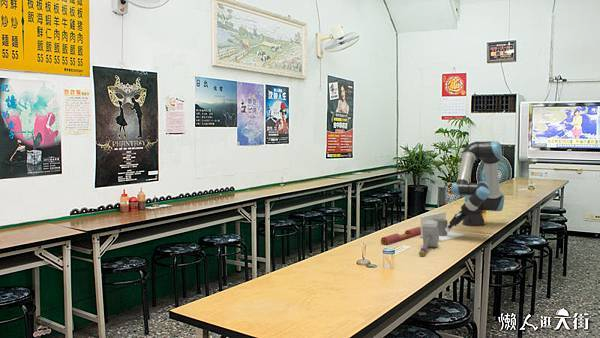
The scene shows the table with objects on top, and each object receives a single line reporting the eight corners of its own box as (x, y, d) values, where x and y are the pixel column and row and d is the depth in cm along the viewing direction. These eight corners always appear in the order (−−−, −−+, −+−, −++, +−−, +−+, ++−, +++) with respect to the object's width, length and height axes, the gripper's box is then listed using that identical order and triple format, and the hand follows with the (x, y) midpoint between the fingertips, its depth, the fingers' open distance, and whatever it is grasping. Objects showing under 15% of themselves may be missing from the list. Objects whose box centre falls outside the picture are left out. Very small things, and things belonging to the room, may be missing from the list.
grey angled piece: (427, 242, 282) (438, 219, 308) (413, 241, 285) (424, 219, 311) (429, 267, 287) (439, 242, 312) (415, 265, 290) (426, 241, 316)
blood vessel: (416, 233, 350) (415, 226, 349) (422, 234, 346) (422, 227, 346) (380, 244, 319) (380, 236, 319) (387, 245, 316) (387, 237, 315)
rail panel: (443, 232, 351) (443, 211, 350) (465, 235, 339) (465, 214, 338) (420, 238, 334) (420, 216, 333) (442, 241, 322) (442, 219, 321)
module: (437, 233, 342) (437, 217, 341) (447, 235, 337) (447, 218, 336) (433, 234, 339) (433, 218, 338) (442, 236, 334) (442, 219, 333)
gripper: (467, 212, 315) (444, 236, 328) (479, 210, 323) (455, 234, 337) (460, 203, 319) (437, 227, 332) (471, 201, 327) (448, 225, 340)
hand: (446, 230), depth 334 cm, fingers closed
